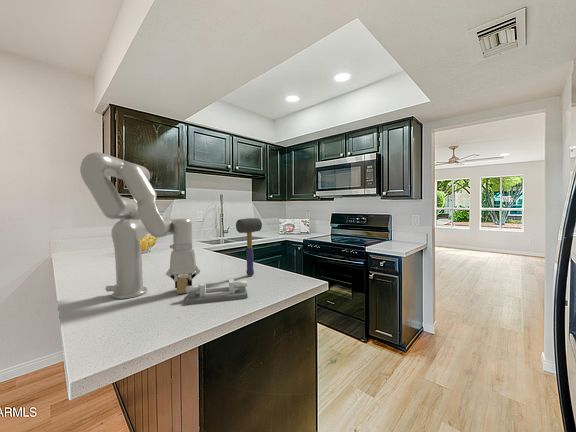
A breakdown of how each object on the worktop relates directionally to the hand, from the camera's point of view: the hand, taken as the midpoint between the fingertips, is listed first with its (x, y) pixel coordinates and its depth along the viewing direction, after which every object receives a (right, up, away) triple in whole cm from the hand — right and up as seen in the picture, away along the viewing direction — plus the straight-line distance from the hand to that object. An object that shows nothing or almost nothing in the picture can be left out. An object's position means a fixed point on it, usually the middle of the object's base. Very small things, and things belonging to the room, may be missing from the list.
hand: (183, 288), depth 111 cm
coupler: (0, -1, 0) cm, 1 cm away
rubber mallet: (+26, 0, +22) cm, 34 cm away
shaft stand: (+17, -1, -8) cm, 19 cm away
